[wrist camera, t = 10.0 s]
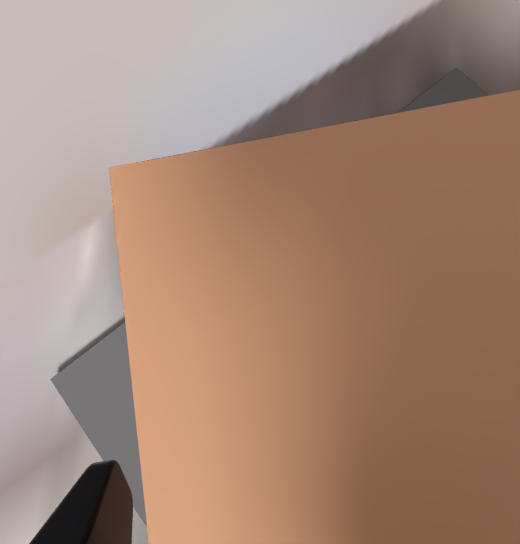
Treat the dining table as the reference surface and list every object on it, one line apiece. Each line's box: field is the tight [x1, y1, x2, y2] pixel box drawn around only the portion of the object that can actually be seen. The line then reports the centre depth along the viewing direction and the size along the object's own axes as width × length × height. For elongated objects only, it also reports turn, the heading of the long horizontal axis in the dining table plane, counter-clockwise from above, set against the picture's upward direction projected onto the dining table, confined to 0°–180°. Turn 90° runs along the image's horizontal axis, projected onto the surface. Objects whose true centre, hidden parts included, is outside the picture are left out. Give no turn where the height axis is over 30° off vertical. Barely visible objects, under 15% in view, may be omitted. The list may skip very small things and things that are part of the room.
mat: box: [51, 68, 488, 527], centre depth 18 cm, size 22×17×1 cm
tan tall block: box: [109, 90, 520, 544], centre depth 11 cm, size 6×6×14 cm
